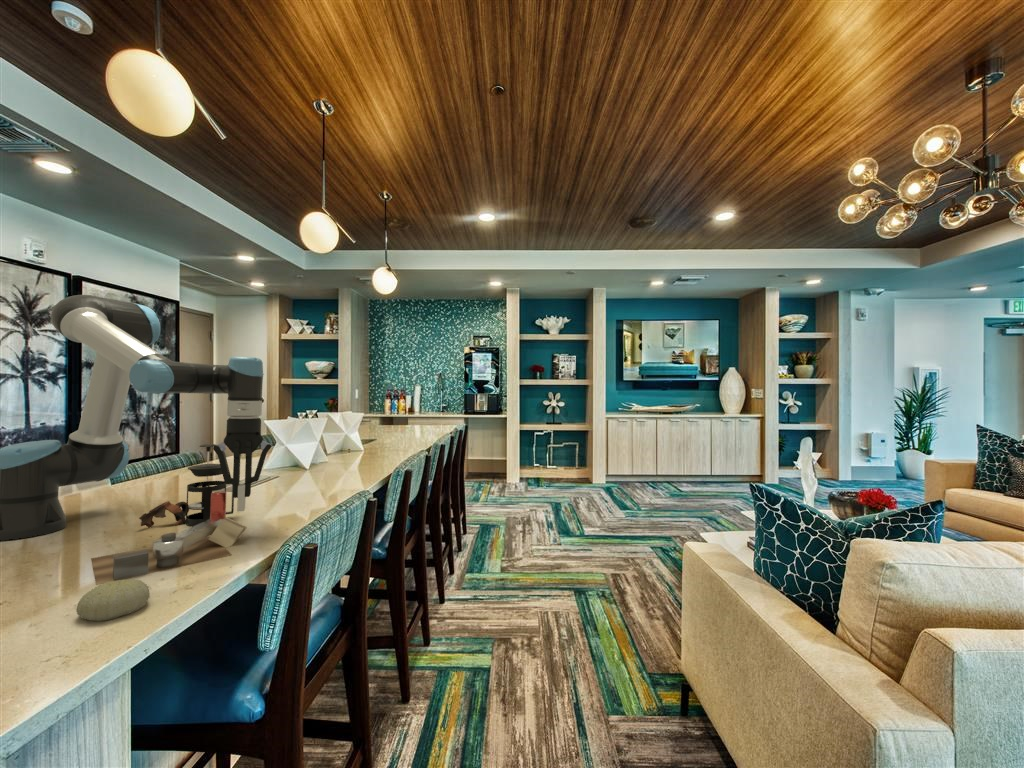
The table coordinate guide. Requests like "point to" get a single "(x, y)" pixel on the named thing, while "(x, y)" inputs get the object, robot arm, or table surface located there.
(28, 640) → the table surface
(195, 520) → the french press
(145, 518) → the broken mug
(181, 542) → the lever
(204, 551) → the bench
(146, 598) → the olive grey stone
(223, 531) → the block
